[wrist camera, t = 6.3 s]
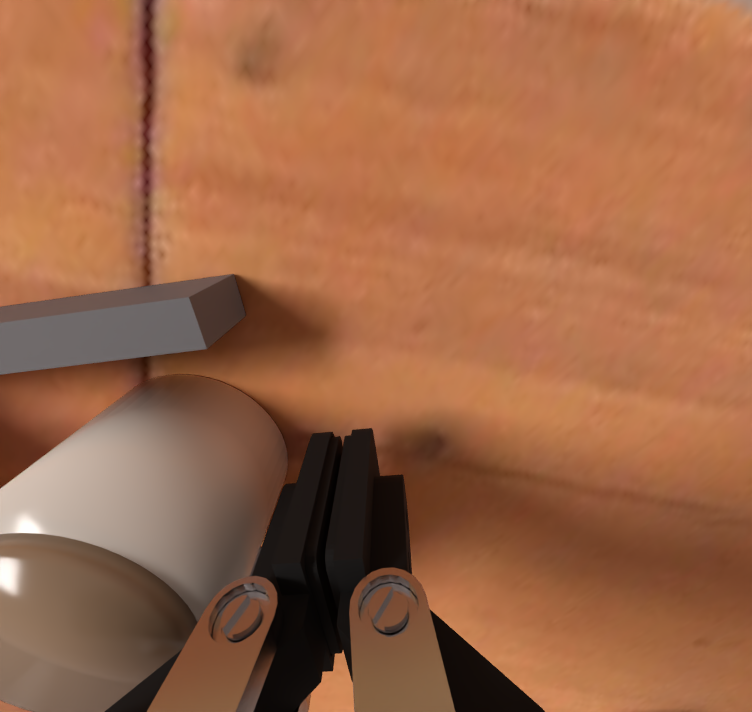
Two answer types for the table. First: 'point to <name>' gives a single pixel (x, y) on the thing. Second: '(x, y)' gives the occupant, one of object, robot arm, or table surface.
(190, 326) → the frame
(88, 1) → the table surface
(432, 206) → the table surface
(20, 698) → the jar
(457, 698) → the robot arm
